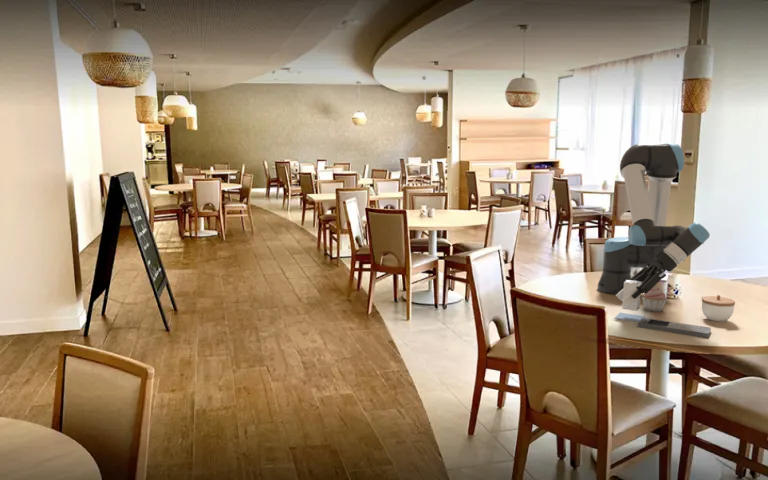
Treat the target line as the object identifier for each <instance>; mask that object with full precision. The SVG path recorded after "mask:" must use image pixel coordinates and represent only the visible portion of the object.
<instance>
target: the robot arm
mask: <svg viewBox="0 0 768 480" xmlns="http://www.w3.org/2000/svg"><path fill="white" fill-rule="evenodd" d="M619 163H620V165H619V172H620V176H621V177H622V178H623V179H624V184H625V189H626V195H627V200H628V206H629V210H630V215H631V216H630V217H631V221H632V225H631V226H630V227H628V228H629V229H628V233H627V236H617V237H612V238H608V239H607V240H605V242H604V246H603V259H602V261H603V262H602V273H601V276H600V277H599V280H598V283H597V291H599V292H601V293H606V294H612V295H615V296H616V297H617V299H619V300H620V301H621V302H622V303H623V302H624V303H625V304H626V305H627V306H628V305H629V304H631V303H632V302H633V301H634V300H635V299H636V298H637V297H639V296H640V297H641V295H643V294H644V293H645V294H646V293H648V292H649V291H650V290H651V289H652V288H653V287H654V286H655V285H657V284H659V282H660V281H661V280H662V279H664V278H665V277H666V276H667V274H666V273H665V272H666V271H667V272H668V273H670V272H672V271H674V269H675V268H677V267H678V265H680V264H681V263H682V262H685V260H686V258H688V257H689V256H690V255H692V253H694V252H695V251H696V250H698V248H700V246H701V245H704V244H705V242H706V241H707V240H708V239H709V238H710V236H711V235H710V232H709V230H707V229H706V228H705V227H704V225H702V224H701V223H699V222H696V221H695V222H693V223H691V224H690V225H688V226H687V227H685V226H683V225H671V226H669V225H667V226H666V223H667V216H668V209H669V204H670V194H671V190H672V189H671V188H672V181H673V180H674V179H676V178H677V174H678V173H679V172H682V170H683V169H684V164H685V157H684V152H683V149H682V147H681V145H679V144H678V143H674V142H673V143H672V142H640V143H637V144H634V145H631V146H630V147H629V148H628V149H627V150H626V151H625V153H623V156H622V157H621V159H620V162H619ZM645 176H646V177H647V178H648V179H649V180H648V187H647V182H646V178H645ZM631 268H642V270H640V271H639V272H638V273H637V274H636V275H634V276H633V277H631ZM626 280H632V281H641V285H640V286H639V287H638V286H637V287H636V288H637V289H638V290H637V289H636V288H635V289H634V290H633V291H632V292H631V293H630V294H629V295H627V296H626V297H625V298H624V299H623V289H624V282H625V281H626Z"/></svg>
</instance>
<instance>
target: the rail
mask: <svg viewBox="0 0 768 480" xmlns="http://www.w3.org/2000/svg"><path fill="white" fill-rule="evenodd" d="M637 328H641V329H646V330H647V329H648V330H653V331H654V330H655V331H660V332H661V331H662V332H666V333H674V334H679V335H686V336H692V337H698V338H704V339H708V338H709V336H710V334H711V330H712V329H711V327H710V326H702V325H695V324H689V323H680V322H675V321H669V320H661V319H653V318H648V317H644V318H642V319H641V320H640V321H639V322H637Z"/></svg>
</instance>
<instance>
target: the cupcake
mask: <svg viewBox="0 0 768 480" xmlns="http://www.w3.org/2000/svg"><path fill="white" fill-rule="evenodd" d="M643 294H644V295H642V296H641V300H642V301H643V306H644V309H645V310H646V311H649V312H652V313H656V312H659V313H660V312H662V311H663V309H664V307H665V303H666V302H667V300H668V298H666V297H667V296H666V293H665V292H664V291H663V290H662V289H661V288H659V287H658V286H657V284H656V285H655V286H654V287H653V288H652V289H651V290H650V291H649V292H648V293H646V294H645V293H643Z"/></svg>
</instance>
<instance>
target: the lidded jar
mask: <svg viewBox="0 0 768 480" xmlns="http://www.w3.org/2000/svg"><path fill="white" fill-rule="evenodd" d="M735 304H736V301H735V300H734V299H731V298H728V297H724V296H721V295H720V294H719V295H718V294H717V295H715V296H714V295H708V296H703V297H702V298H701V310H702V313H703V315H704V317H706V320H708V321H715V322H721V323H726V322H727V321H728V320H729V319H730V318H731V317H732V316H733V314H734V310H735Z"/></svg>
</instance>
